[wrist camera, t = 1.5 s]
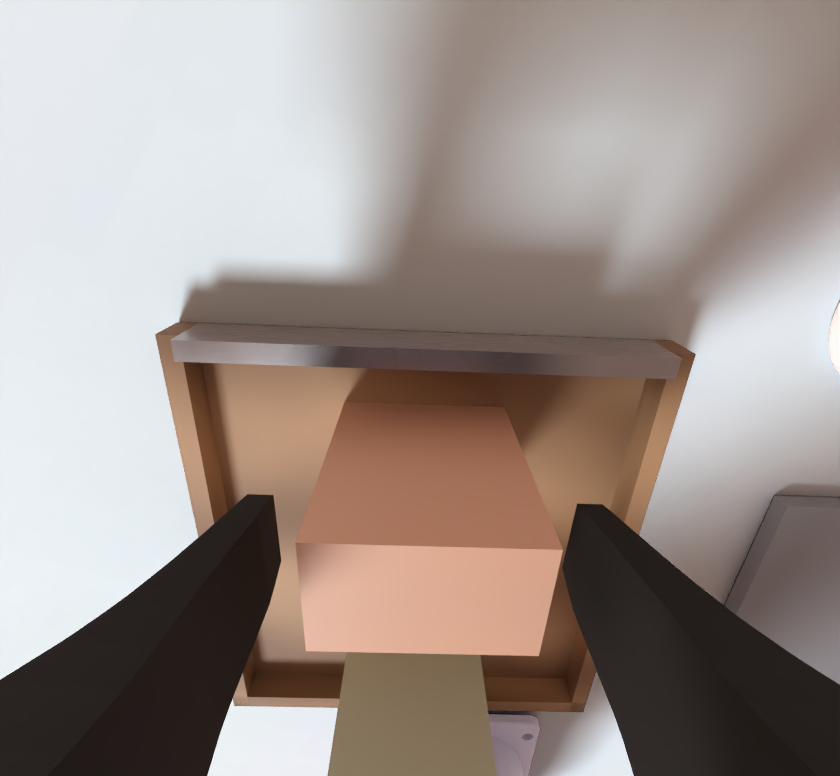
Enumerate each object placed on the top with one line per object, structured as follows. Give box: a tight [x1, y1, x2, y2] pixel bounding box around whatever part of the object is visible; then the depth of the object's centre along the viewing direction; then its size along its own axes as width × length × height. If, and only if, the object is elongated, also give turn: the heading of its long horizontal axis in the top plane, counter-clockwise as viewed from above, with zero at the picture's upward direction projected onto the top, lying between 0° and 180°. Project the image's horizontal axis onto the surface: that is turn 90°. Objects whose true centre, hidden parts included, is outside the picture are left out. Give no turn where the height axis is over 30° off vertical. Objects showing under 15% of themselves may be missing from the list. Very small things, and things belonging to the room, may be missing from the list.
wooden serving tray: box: [155, 322, 696, 712], centre depth 15 cm, size 16×15×2 cm
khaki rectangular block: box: [328, 652, 497, 776], centre depth 15 cm, size 3×5×6 cm, turn 88°
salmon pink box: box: [295, 402, 563, 656], centre depth 11 cm, size 3×5×6 cm, turn 87°
